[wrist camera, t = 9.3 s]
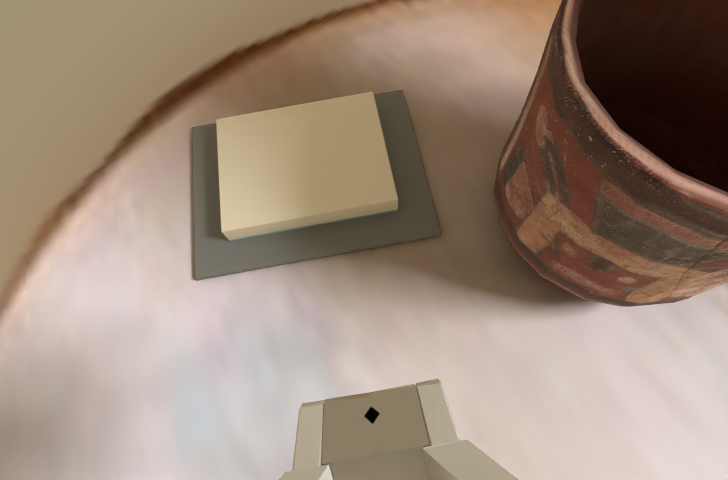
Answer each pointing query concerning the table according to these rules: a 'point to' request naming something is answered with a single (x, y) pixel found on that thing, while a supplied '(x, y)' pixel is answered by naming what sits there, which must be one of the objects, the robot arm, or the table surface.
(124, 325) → the table surface
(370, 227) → the mat
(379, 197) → the tile
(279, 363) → the table surface
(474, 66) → the table surface
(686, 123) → the pottery
